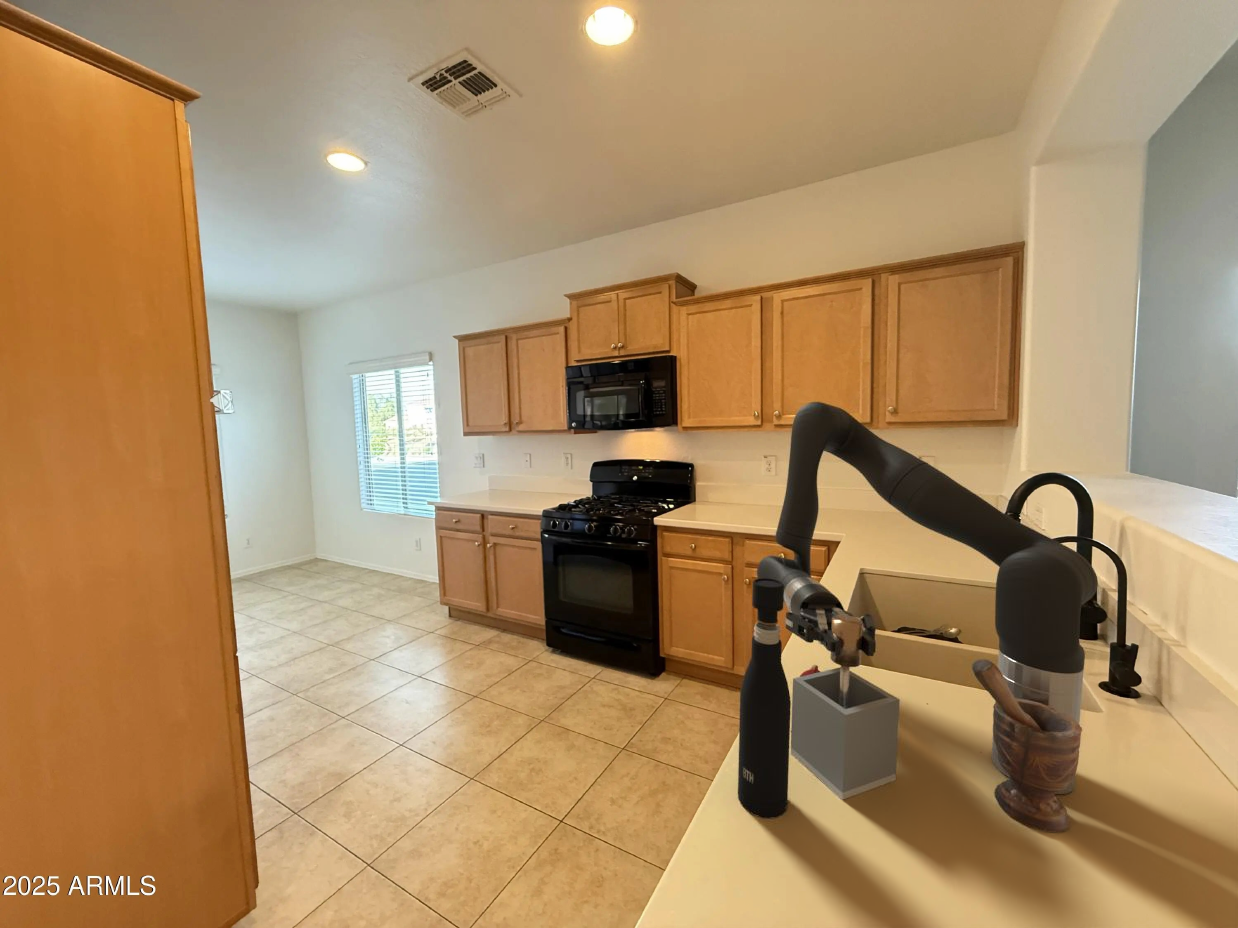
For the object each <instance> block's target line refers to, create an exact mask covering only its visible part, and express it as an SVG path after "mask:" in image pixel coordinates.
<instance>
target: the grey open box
mask: <svg viewBox="0 0 1238 928" xmlns="http://www.w3.org/2000/svg"><path fill="white" fill-rule="evenodd" d="M840 669H841V666H840V667H836V668H832V669H828V670H823V671H820V672H818V673H814V674H810V675H806V676H801V677H800V676H797V677H794V678H792V695H791V696H792V700H791V724H790V727H791V728H790V730H791V731H790V754H791V755H792V756H793V758H795V759H796V760H798V761H799V763H801V764H802V765H803V766H804V767H805V768H806V769H807V770H808V771H809V772H810V773H812V775H814V776H815V777H816V778H818V780H819V781H820V782H822V783H823V784H824V785H825V786H826V787H827V789H829V790H830V791H832V792H833V793H834V794H835V795H836V796H837V797H838V798H839V799H840V800H845V799H849V798H852V797H854V796H856V795H860V794H863V793H865V792H868V791H871V790H872V789H877V788H878V787H882V786H884V785H887V784H888V783H889V784H890V783H892V782H894V781H896V776H897V758H898V737H899V721H900V720H899V719H900V717H899V716H900V703H901V702H900V698H898V697H896V696H894V695H893V694H891V693H889V692H888V691H886V690H884V689H882V688H880V687H879V686H877V685H875V684H874V683H872V682H870V681H869V680H867V679H865V678H863V677H862V676H860V675H858V674H856V673H855V672H853V671H851V670H850V672H849V696H848V709H844V708H843V707H841V706H840V705H839V694H840Z"/></svg>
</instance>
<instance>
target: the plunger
mask: <svg viewBox="0 0 1238 928" xmlns="http://www.w3.org/2000/svg"><path fill="white" fill-rule="evenodd" d="M855 617H856V616H853V617H852V616H848V615H835V616H833V617H832V630H831V631H832V633H833V634H835V635H836V636H837V638H838V639H839V640H840V642H841V654H840V655H834V654H833V653H832V652H830V657H829V659H830V660H831V662H833V664H834V663H835V664H836V665H839V666H840V667H841V669H840V694H839V705H840V706H841V707H843V708H844V709H848V696H849V672H850V671H851V668H856V667H860V666H861V664H862V650H861V646H862V621H861V620H860V619H858V618H859V617H858V618H855Z"/></svg>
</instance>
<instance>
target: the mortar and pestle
mask: <svg viewBox="0 0 1238 928" xmlns="http://www.w3.org/2000/svg"><path fill="white" fill-rule="evenodd" d="M971 669H972V671H973V674H974V676H975V678H976V679H977V681H978V682H979V683H980V684H981V686H982V687H983V688H984V689H985V690H986V692H988V693H989V695H990V696H991V697H992V699H994V701H996V702H994V704H993V708H992V709H993V712H992V721H993V723H992V739H993V738H994V742H995V745H996V748H997V751H998V760H999V763H1000V765H1001V767H1002V768H1003V769H1004V770H1005V771H1006V772H1007V773H1008V774H1009V776H1010V778H1009V779H1007V780H1005V781H1002V782H1001V783H999V784H997V785H996V787H995V789H994V792H993V793H994V798H995V799H996V801H997V804H998V805H999V808H1001V809H1002V810H1003V811H1005V813H1006V814H1007V815H1008V816H1010V817H1011V818H1013V819H1014V820H1016V821H1017V822H1020V823H1022V824H1024V825H1026V826H1028V827H1031V828H1034V829H1037V830H1040V831H1044V832H1049V833H1060V832H1063V831H1066V830H1067V828H1069V826H1070V821H1069V815H1068V814H1069V813H1068V812H1067V811H1068V810H1067V808H1066V806H1065V805H1064V804H1063V803H1062V802H1061V801H1060V799H1059V798H1057V797H1056V794H1055V792H1058V791H1061V790H1064V789H1065V788H1066V787H1067V786H1068V785H1069V784H1070V780H1071V779H1072V778H1073V777H1074V775H1075V776H1076V772H1077V771H1078V770H1077V769H1078V765H1079V758H1080V746H1081V739H1082V736H1081V734H1082V732H1083V727H1081V724H1080V723H1079V724H1078V723H1077V722H1076V721H1075V720H1074V719H1073V718H1071V717H1070V716H1068V715H1067V714H1065V713H1063V712H1060V711H1058V710H1056V709H1055V708H1053V707H1049V706H1046V705H1044V704H1041V703H1038V702H1034V701H1030V700H1023V699H1018V698H1015V697H1014V695H1013V693H1012V692H1011V690H1010V688H1009V686H1008V684H1007V682H1006V680H1005V678H1004V676H1003V675H1002V673H1001V671H1000V670H999V669H998V665H996V664H995V663H993V661H991V660H989V659H985V658H980V659H977V660H975V661H974V662H973V663H972V666H971Z"/></svg>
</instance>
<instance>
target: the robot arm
mask: <svg viewBox="0 0 1238 928" xmlns="http://www.w3.org/2000/svg"><path fill="white" fill-rule="evenodd" d="M790 434H791V436H790V447H789V448H790V450H789V461H788V469H787V480H786V487H785V488H786V489H785V493H784V494H785V495H784V498H783V499H784V500H783V504H782V508H781V511H780V517H779V519H778V520H779V521H778V524H777V528H776V532H775V537H774V538H775V542H776V544H778V545H779V546H781V547H783V548H785V549H787V550H789V551H792V552H793V555H794V557H793V559H790V558H786V557H780V556H777V555H767V556H766V557H763V558H762V559H761V560H760V561H759V563H758V564H757V569H756V576H757V578H756V579H759V578H770V579H775V580H779V581H781V582H782V583H783V584H784V599H783V604H785V605H786V608H787V609H788V612H787V611H786V613H785V629H786V630H787V631H789V632H791V633H792V634H794V635H795V636H797V637H799V638H800V639H801V640H803V641H805V642H806V643H809V644H811V643H814V641H817V642H818V644H819V645H822V646H824V648H825V649H826V650H827V651H828V652H830V653H831V652H832V653H833V654H834V655H840V654H841V642H840V640H839V639H838V638H837V636H836V635H835V634H833V633H832V631H831V630H832V617H833V616H835V615H848V616H852V617H855V618H858V619H860V620H861V621H862V646H861V652H863V653H864V655H865V656H867V657H873V656H874V655H875V654H876V649H877V648H876V645H877V644H876V630H877V627H876V625H875V624H876V623H875V621H874V618H873V615H872V614H870V613H863V615H862V616H861V615H860V617H857V616H854V615H853V613H851V612H849V611H847V610H845V608H844V606H843V604H842V602H841V601H840V600H839V598H838V597H837V596H836V595H835V594H833V593H832V592H831V591H830V590H829V589H828V588H826V587H825V585H823V584H822V583H820V582H819V581H817V580H816V579H814V578H813V577H812V570H811V569H812V568H811V566H812V565H811V549H812V548H811V547H812V541H813V536H814V533H815V530H816V527H817V526H816V525H817V523H818V522H817V520H818V517H819V508H820V507H819V504H820V503H819V493H818V491H819V490H818V473H819V467H820V462H821V459H822V456H823V453H824V452H826V453H829V454H831V455H833V456H835V457H837V458H839V459H840V460H842V461H843V462H845V463H847V464H848V465H850V466H851V467H853V468H854V469H855V470H856V471H858V472H859V473H860V474H861V475H862V476H863V477H864V478H865V480H866V481H867V483H868V484H869V485H870V486H871V487H872V489H873V490H874V491H875V492H876V493H877V494H878V495H879V496H880V497H881V499H883V500H884V501H885V502H887V503H888V504H889V505H890V506H892V507H893V508H894V509H896V510H898V512H900V513H901V514H903V516H905V517H907V518H908V519H910V520H911V521H912V522H914V523H916V524H919V525H920V526H922V527H923V528H926V529H928V530H930V531H932V532H935V533H937V534H940V535H941V536H944V537H947V538H949V539H952V540H954V541H956V542H958V543H961V544H963V545H965V546H966V547H969V548H971V549H973V550H975V551H977V552H978V553H980V554H981V555H983V556H984V557H986V558H987V559H988V560H990V561H991V562H992V563H994V564H995V565H996V566H997V567H999V569H998V571H997V575H996V583H995V600H994V601H995V603H994V604H995V605H994V606H995V607H994V625H995V626H994V627H995V632H996V634H997V636H998V657H997V667H998V669H999V670H1000V671H1001V673H1002V675H1003V676H1004V678H1005V680H1006V682H1007V684H1008V686H1009V688H1010V690H1011V692H1012V693H1013V695H1014V697H1015V698H1018V699H1023V700H1030V701H1034V702H1038V703H1041V704H1044V705H1046V706H1049V707H1053V708H1055V709H1056V710H1058V711H1060V712H1063V713H1065V714H1067V715H1068V716H1070V717H1071V718H1073V719H1074V720H1075V721H1076V722H1077V723H1078V724H1079V725H1080V723H1081V722H1080V721H1081V709H1082V699H1083V698H1082V695H1083V683H1084V682H1083V681H1084V672H1085V671H1084V670H1085V659H1086V658H1085V657H1086V652H1085V649H1084V648H1083V646H1082V645H1081V644H1080V643H1081V642H1080V629H1081V628H1080V625H1081V611H1082V605H1084V604H1085V603H1087V602H1088V601H1089V600H1091V599H1092V598H1093V597H1094V595H1096V592H1097V590H1098V585H1099V582H1098V581H1099V580H1098V576H1097V574H1096V571H1095V568H1094V567H1093V566H1092V565H1091V563H1090V562H1089V561H1088V560H1087V558H1085V557H1084V556H1083V555H1081V554H1080V553H1079V552H1077V551H1076V550H1074V549H1072V548H1070V547H1068V546H1067V545H1065V544H1062V543H1061V542H1059V541H1057V540H1055V539H1053V538H1051V537H1049V536H1047V535H1045V534H1043V533H1041V532H1039V531H1037V530H1035V529H1033V528H1031V527H1029V526H1027V525H1025V524H1023V523H1021V522H1020V521H1018V520H1015V519H1013V517H1010V516H1009V515H1007V514H1006V513H1004V512H1003V511H1001V510H1000V509H998V508H996V507H995V506H993V505H992V504H991V503H989V502H988V501H986V500H985V499H984V498H983V497H980V496H979V495H977V494H976V493H975V492H972V491H971V490H970V489H968V488H966V487H965V486H963V485H962V484H961V483H958V482H957V481H956V480H954V479H953V478H951V477H950V476H948V475H947V474H945V473H944V472H942V471H941V470H939V469H938V468H936V467H934V466H933V465H931V464H929V463H928V462H926V461H925V460H923V459H921V458H919V457H917V456H915V455H914V454H912V453H910V452H908V451H907V450H904V449H902V448H901V447H898V446H896V445H895V444H893V443H890V442H888V441H886V440H884V439H883V438H881V437H879V436H878V435H876V434H875V433H874V432H872V431H871V430H870V428H869V429H868V428H867V427H866V426H865V425H864V424H863V423H861V422H860V421H859V420H858V419H856V418H855V417H854V416H853V415H851V414H850V413H849V412H848V411H846V410H845V409H843V408H842V407H838V406H834V405H832V404H829V403H825V402H821V401H812V402H808V403H805V404H804V405H802V406H801V407H800V408H799V409H798V410H797V412H796V414H795V416H794V417H793V421H792V427H791V433H790ZM994 701H995V700H994ZM995 702H996V701H995ZM995 702H994V703H995ZM991 742H992V743H991V745H992V746H991V761H992V763H993V765H994V766H995V767H996V768H997V769H998V771H1000V772H1001V773H1003V775H1005V776H1007V777H1008V778H1009V779H1010V776H1009V774H1008V773H1007V772H1006V771H1005V770H1004V769H1003V768H1002V767H1001V765H1000V763H999V760H998V751H997V748H996V745H995V742H994V738H993V737H992V741H991ZM1075 779H1076V774H1075V775H1074V777H1073V778H1072V779H1071V780H1070V784H1069V785H1068V786H1067V787H1066V788H1065V789H1064V790H1061V791H1058V792H1055V794H1054V795H1066V794H1069V793H1071V792H1073V790H1075V781H1076V780H1075Z"/></svg>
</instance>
